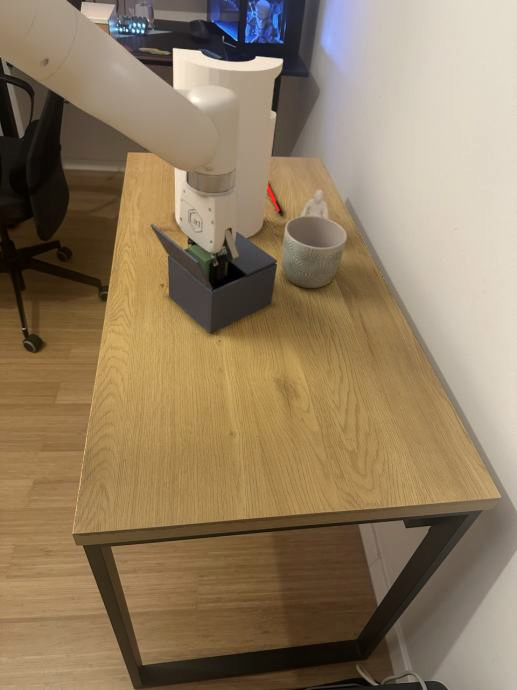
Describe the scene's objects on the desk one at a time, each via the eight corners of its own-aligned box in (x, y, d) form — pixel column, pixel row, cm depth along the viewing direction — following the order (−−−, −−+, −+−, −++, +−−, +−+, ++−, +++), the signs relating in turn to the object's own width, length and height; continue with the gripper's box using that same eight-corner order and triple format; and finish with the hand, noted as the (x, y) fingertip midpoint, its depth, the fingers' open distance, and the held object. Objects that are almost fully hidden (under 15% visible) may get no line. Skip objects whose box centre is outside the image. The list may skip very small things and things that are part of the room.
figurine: (326, 237, 118) (337, 190, 110) (323, 255, 112) (334, 207, 104) (295, 231, 119) (303, 184, 110) (290, 249, 113) (299, 200, 105)
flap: (212, 288, 83) (211, 290, 83) (168, 251, 89) (166, 253, 89) (198, 261, 77) (196, 262, 77) (151, 223, 83) (150, 225, 83)
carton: (210, 334, 90) (212, 289, 83) (168, 296, 96) (167, 251, 89) (271, 304, 98) (277, 260, 91) (229, 271, 104) (232, 228, 97)
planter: (343, 293, 103) (355, 248, 95) (284, 295, 100) (293, 249, 93) (326, 258, 112) (337, 215, 104) (272, 259, 109) (279, 215, 102)
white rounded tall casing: (175, 212, 119) (262, 218, 122) (172, 238, 111) (266, 243, 113) (173, 47, 95) (282, 57, 97) (169, 64, 87) (288, 75, 89)
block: (204, 285, 87) (205, 261, 84) (187, 271, 90) (187, 247, 86) (226, 275, 90) (228, 252, 87) (209, 262, 92) (210, 238, 89)
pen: (279, 216, 123) (280, 212, 122) (262, 180, 136) (262, 176, 135) (283, 216, 123) (283, 212, 123) (265, 180, 136) (265, 176, 136)
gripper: (159, 159, 79) (162, 256, 92) (226, 206, 71) (220, 305, 84) (197, 150, 83) (195, 244, 96) (265, 193, 75) (253, 289, 87)
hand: (207, 271), depth 90 cm, fingers closed on block, 5 cm apart
